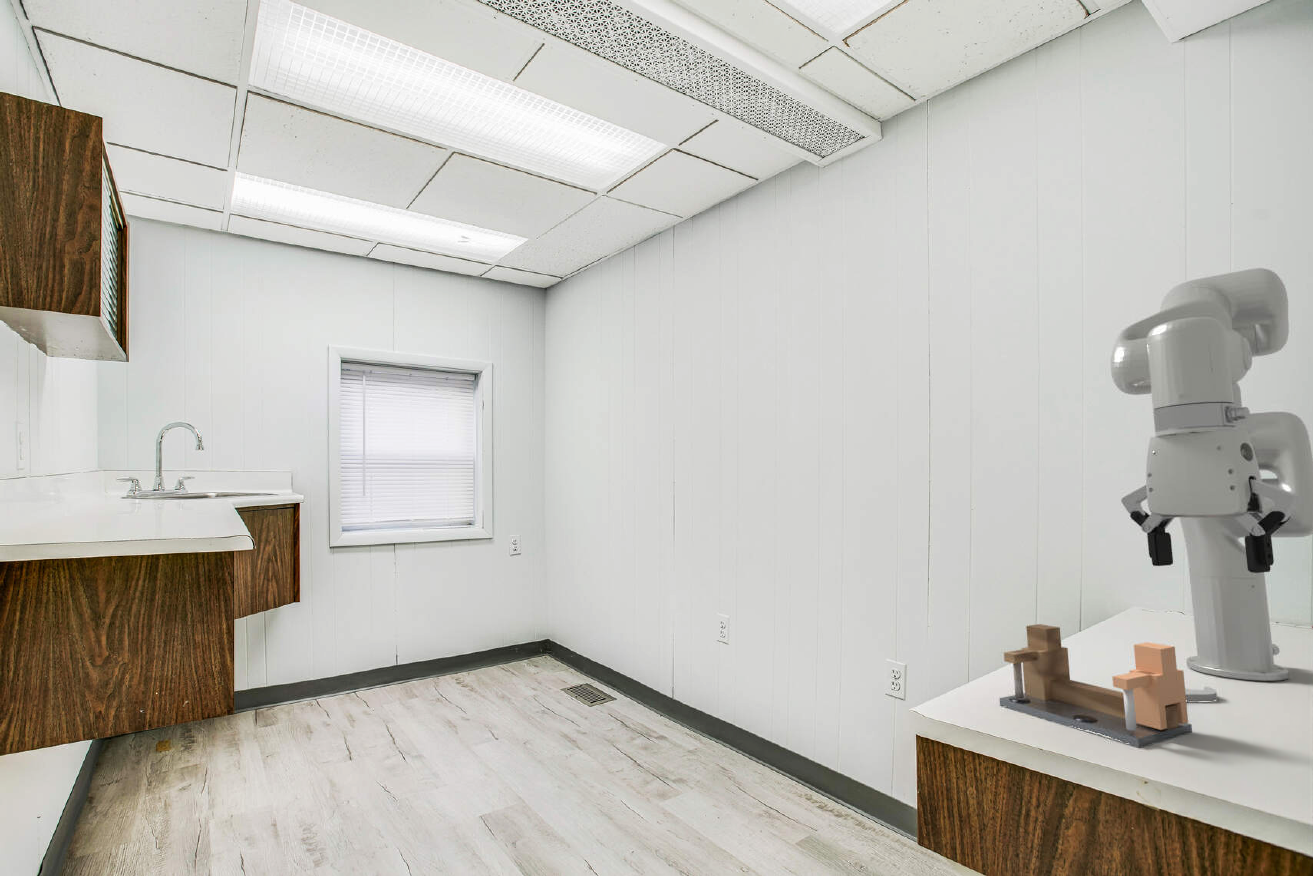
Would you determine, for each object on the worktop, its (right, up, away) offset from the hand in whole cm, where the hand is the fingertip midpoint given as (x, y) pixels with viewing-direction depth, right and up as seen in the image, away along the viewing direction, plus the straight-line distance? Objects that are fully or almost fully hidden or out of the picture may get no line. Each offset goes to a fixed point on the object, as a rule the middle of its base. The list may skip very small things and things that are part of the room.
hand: (1208, 568), depth 76 cm
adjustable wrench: (+4, -23, +16) cm, 28 cm away
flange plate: (-7, -22, +10) cm, 25 cm away
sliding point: (-4, -20, +3) cm, 20 cm away
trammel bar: (-8, -21, +10) cm, 24 cm away
